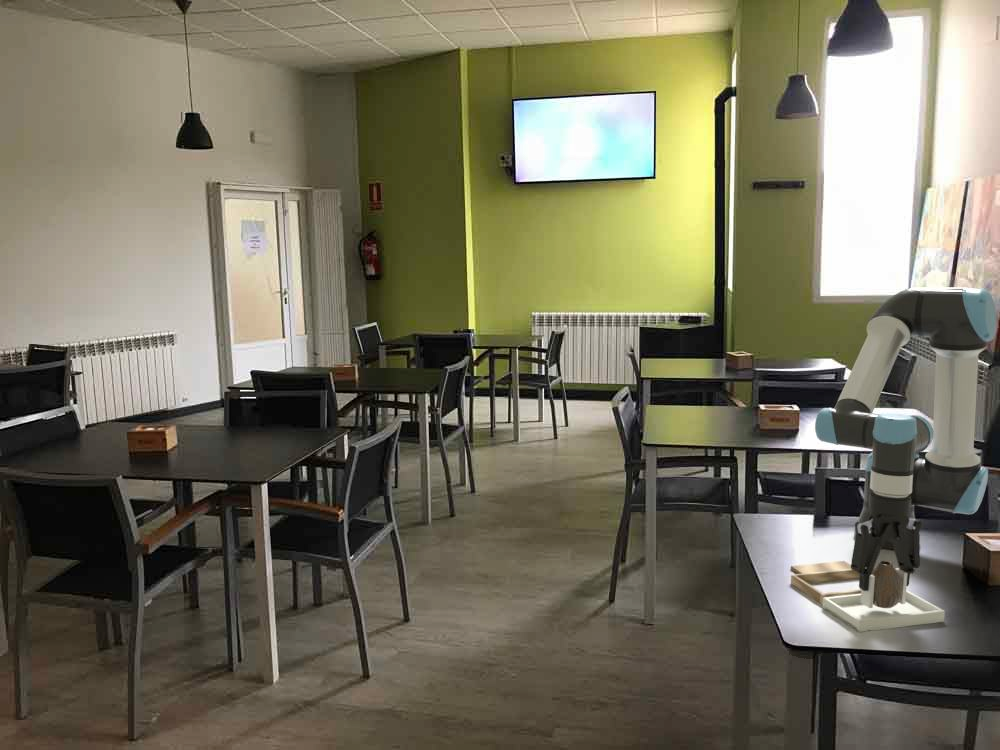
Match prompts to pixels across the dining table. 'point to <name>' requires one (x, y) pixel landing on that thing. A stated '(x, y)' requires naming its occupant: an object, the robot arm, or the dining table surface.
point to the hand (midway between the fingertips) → (882, 603)
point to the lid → (821, 567)
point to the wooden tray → (805, 578)
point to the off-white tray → (882, 612)
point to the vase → (886, 585)
